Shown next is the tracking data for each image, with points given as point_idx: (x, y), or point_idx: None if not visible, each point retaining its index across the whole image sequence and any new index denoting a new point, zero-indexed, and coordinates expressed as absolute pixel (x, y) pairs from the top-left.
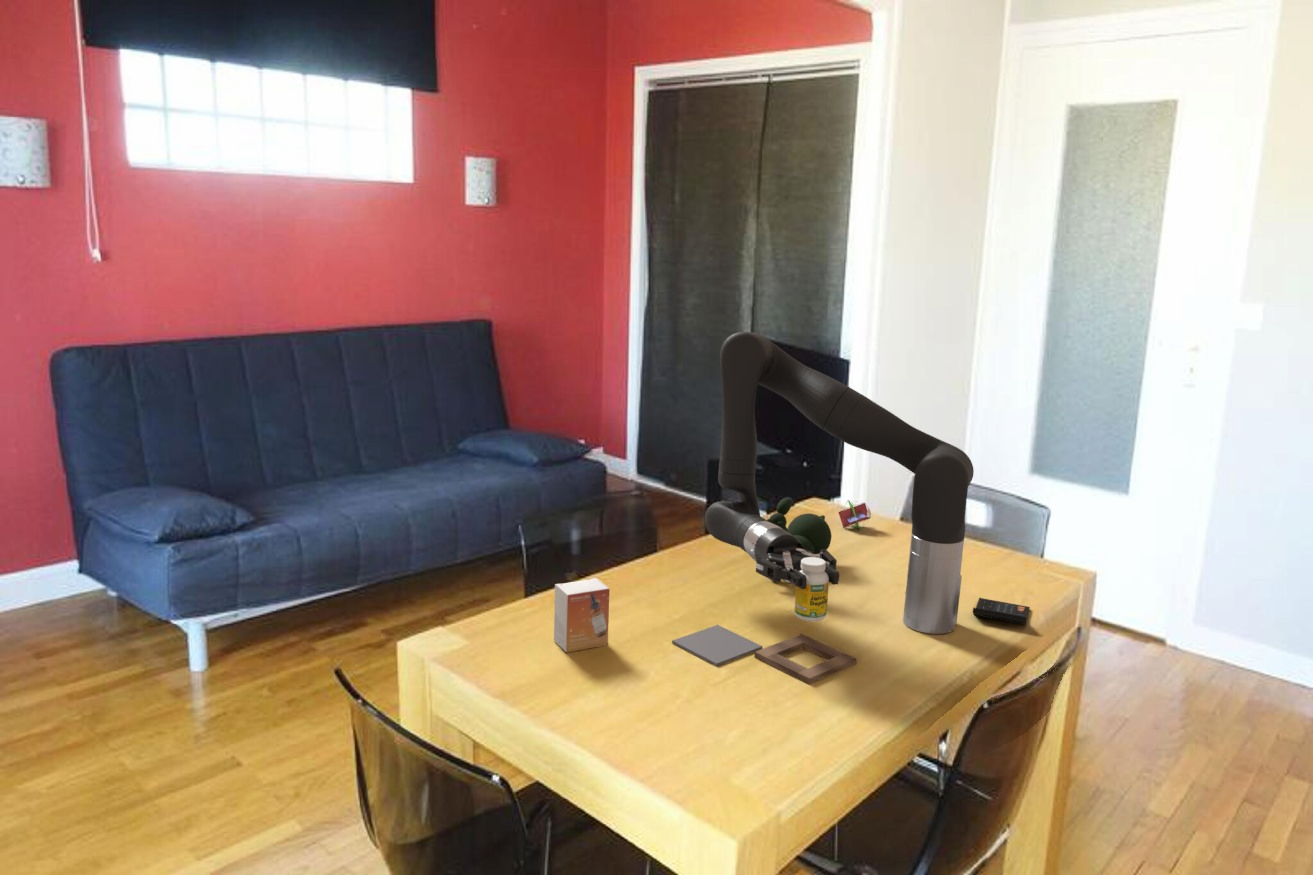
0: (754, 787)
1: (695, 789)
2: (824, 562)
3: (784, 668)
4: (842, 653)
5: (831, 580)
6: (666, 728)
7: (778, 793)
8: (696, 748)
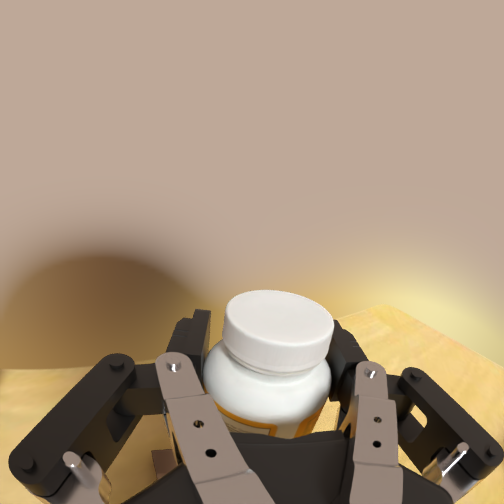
0: (376, 322)
1: (412, 326)
2: (242, 294)
3: None
4: (162, 473)
5: (207, 348)
6: (447, 375)
7: (361, 316)
8: (419, 354)
